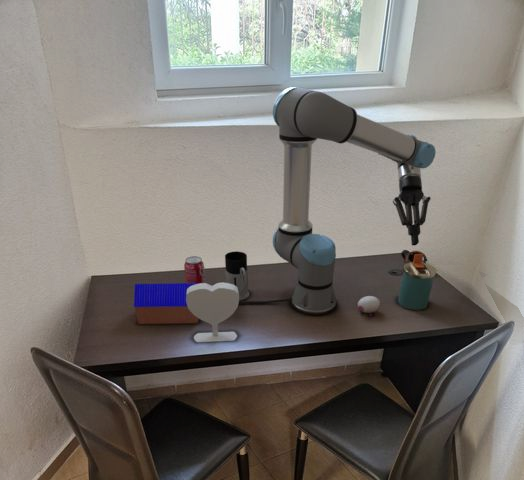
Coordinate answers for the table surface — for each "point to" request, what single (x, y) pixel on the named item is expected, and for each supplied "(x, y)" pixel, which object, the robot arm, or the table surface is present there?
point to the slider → (418, 261)
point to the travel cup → (416, 286)
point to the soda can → (194, 270)
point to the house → (163, 303)
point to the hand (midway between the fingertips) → (415, 243)
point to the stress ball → (368, 304)
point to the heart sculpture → (213, 308)
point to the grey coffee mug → (237, 272)
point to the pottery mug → (411, 256)
